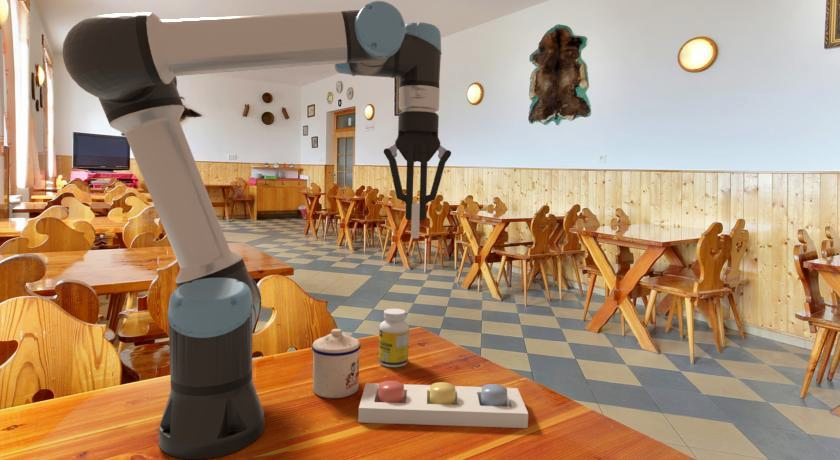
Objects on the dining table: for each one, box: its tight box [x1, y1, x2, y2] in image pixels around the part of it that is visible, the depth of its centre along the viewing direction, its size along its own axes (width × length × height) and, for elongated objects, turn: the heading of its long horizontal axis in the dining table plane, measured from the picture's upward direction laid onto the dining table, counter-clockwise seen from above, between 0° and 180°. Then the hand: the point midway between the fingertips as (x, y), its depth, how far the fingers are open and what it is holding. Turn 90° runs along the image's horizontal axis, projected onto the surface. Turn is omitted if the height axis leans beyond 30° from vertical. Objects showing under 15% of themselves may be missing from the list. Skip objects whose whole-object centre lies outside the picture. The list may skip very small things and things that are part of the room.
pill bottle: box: [378, 308, 410, 368], centre depth 109 cm, size 6×6×12 cm
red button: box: [378, 380, 404, 403], centre depth 87 cm, size 4×4×4 cm
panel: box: [357, 382, 529, 429], centre depth 87 cm, size 28×10×2 cm, turn 89°
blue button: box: [480, 383, 507, 407], centre depth 87 cm, size 4×4×4 cm
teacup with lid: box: [311, 328, 361, 399], centre depth 96 cm, size 12×9×12 cm
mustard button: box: [430, 381, 456, 405], centre depth 87 cm, size 4×4×4 cm
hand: (415, 237), depth 96 cm, fingers closed
